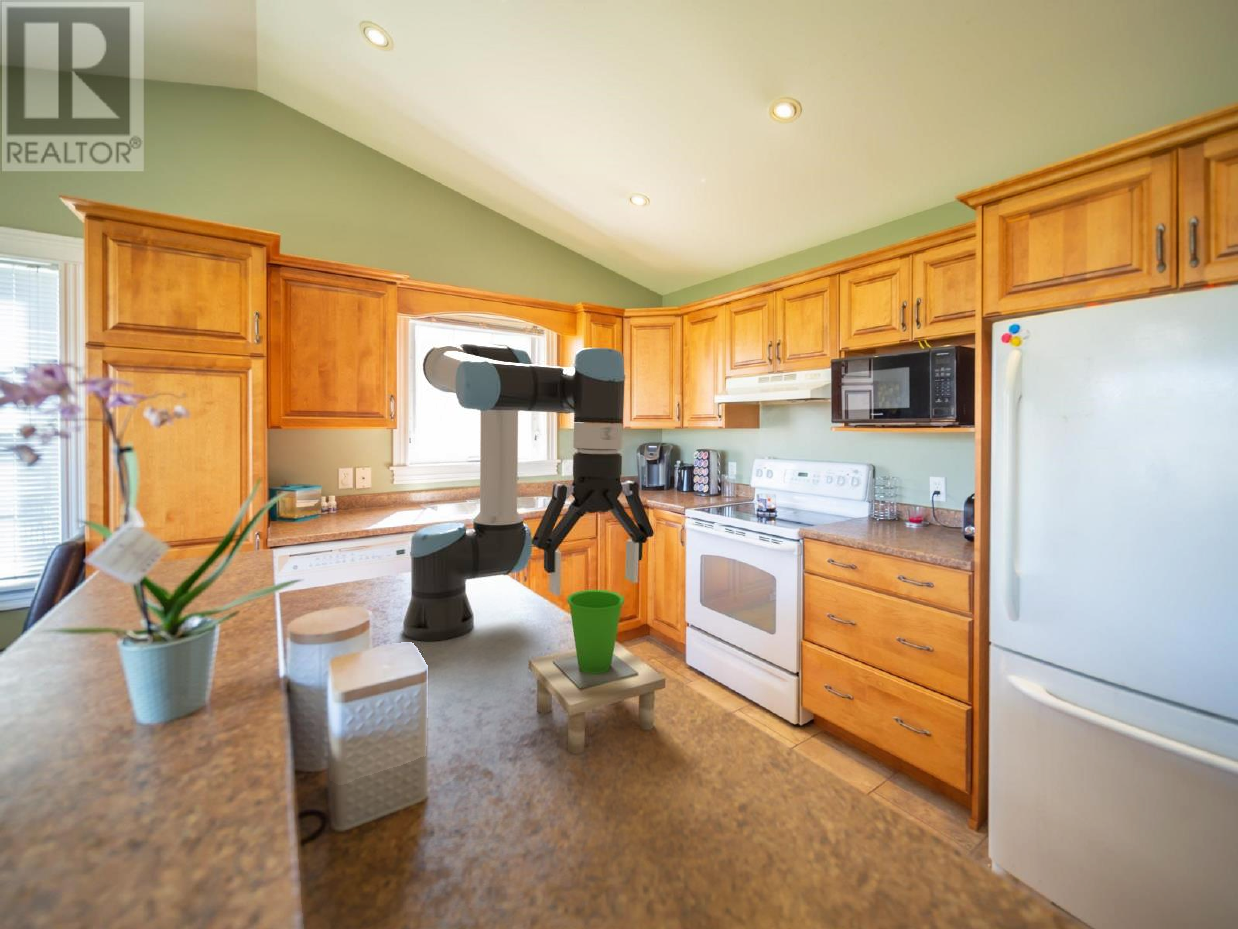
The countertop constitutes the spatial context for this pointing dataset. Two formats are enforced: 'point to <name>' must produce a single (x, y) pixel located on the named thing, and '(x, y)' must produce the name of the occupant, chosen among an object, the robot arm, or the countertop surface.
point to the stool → (594, 688)
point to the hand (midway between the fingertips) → (594, 586)
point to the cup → (595, 627)
